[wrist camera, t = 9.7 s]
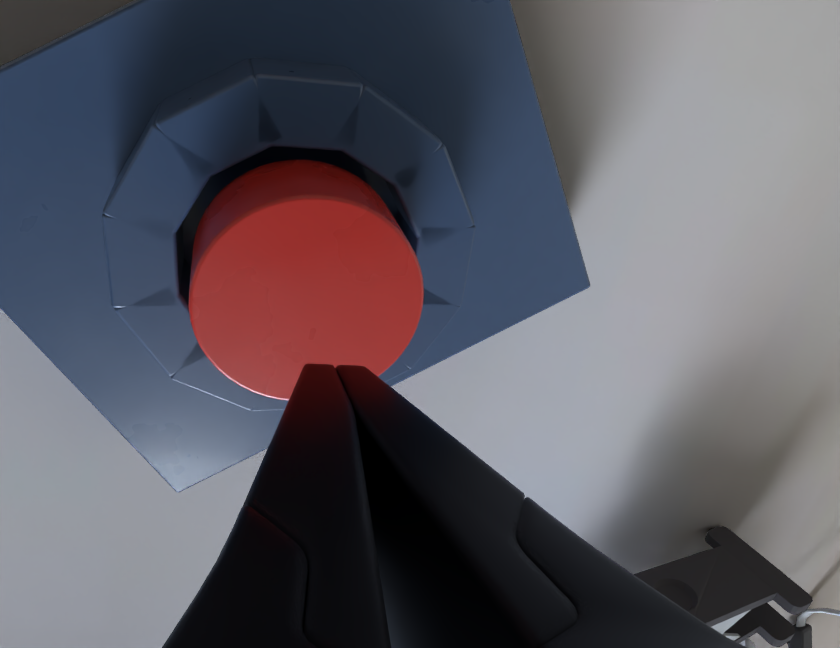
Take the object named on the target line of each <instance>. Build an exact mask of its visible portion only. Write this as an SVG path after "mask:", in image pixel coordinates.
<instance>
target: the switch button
mask: <svg viewBox="0 0 840 648" xmlns="http://www.w3.org/2000/svg"><path fill="white" fill-rule="evenodd" d="M423 299H424V284H423V276H422V271H421V267H420V264H419V261H418V259H417V256H416V254H415V252H414V250H413V248H412V246H411V244H410V243H409V241H408V239H407V238H406V236H405V235H404V233H403V231H402V230H401V228H400V226H399V225H398V223H397V222H396V220H395V218H394V217H393V215H392V214H391V212H390V210H389V209H388V207H387V205H386V204H385V203H384V201H383V200H382V199H381V197H380V196H379V195H378V193H377V192H376V191H375V190H374V189H373V188H372V187H371V186H370V185H368V184H367V183H366V182H364V181H363V180H362V179H360V178H359V177H358V176H356V175H354V174H352V173H351V172H349V171H347V170H345V169H342V168H340V167H337V166H335V165H332V164H328V163H324V162H320V161H313V160H284V161H277V162H273V163H269V164H265V165H262V166H259V167H257V168H254V169H252V170H250V171H247V172H246V173H244V174H242V175H241V176H239V177H237V178H235V179H234V180H233V181H232V182H230V183H229V184H228V185H226V186H225V187H224V188H223V189H222V190H221V191H220V192H219V193H218V194H217V195H216V196H215V197H214V199H213V200H212V201H211V203H210V204H209V206H208V207H207V208H206V210H205V212H204V214H203V216H202V218H201V220H200V222H199V225H198V228H197V231H196V234H195V239H194V245H193V254H192V264H191V275H190V286H189V305H188V307H189V315H190V322H191V325H192V329H193V332H194V335H195V337H196V339H197V341H198V343H199V346H200V347H201V349H202V350H203V352H204V353H205V355H206V357H207V358H208V359H209V360H210V361H211V363H212V364H213V365H214V366H215V367H216V368H217V369H218V370H219V371H220V372H221V373H223V374H224V375H225V376H226V377H227V378H229V379H230V380H232V381H233V382H235V383H236V384H238V385H239V386H241V387H243V388H245V389H247V390H249V391H251V392H254V393H257V394H260V395H263V396H266V397H270V398H274V399H279V400H288V401H289V399H290V396H291V394H292V392H293V389H294V387H295V385H296V383H297V380H298V378H299V376H300V373H301V371H302V369H303V367H304V365H305V364H309V363H311V364H331V365H333V366H334V367H335V368H336V366H338V365H359V366H365V367H366V368H368V369H369V370H370V371H371V372H373V373H374V374H375V375H376V376H379V375H381V374H382V373H383V372H384V371H386V370H387V369H388V368H389V367H390V366H391V365H392V364H393V363H394V362H395V361H396V360H397V359H398V358H399V356H400V355H401V354H402V353H403V351H404V350H405V349H406V347H407V346H408V344H409V343H410V341H411V339H412V337H413V335H414V333H415V331H416V328H417V326H418V323H419V320H420V317H421V312H422V308H423Z"/></svg>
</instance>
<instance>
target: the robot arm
mask: <svg viewBox="0 0 840 648" xmlns="http://www.w3.org/2000/svg"><path fill="white" fill-rule="evenodd" d="M524 497H525V495H524V493H523V492H521V491H520V490H519V489H518V488H516V487H515V486H514V485H513V484H511V483H510V482H509V481H508V480H506V479H505V478H504V477H503V476H501V475H500V474H499V473H498V472H496V471H495V470H494V469H493V468H491V467H490V466H489V465H488V464H486V463H485V462H484V461H483V460H481V459H480V458H479V457H478V456H476V455H475V454H474V453H473V452H471V451H470V450H469V449H468V448H466V447H465V446H464V445H463V444H461V443H460V442H459V441H458V440H456V439H455V438H454V437H453V436H451V435H450V434H449V433H448V432H446V431H445V430H444V429H443V428H441V427H440V426H439V425H438V424H436V423H435V422H434V421H433V420H431V419H430V418H429V417H428V416H426V415H425V414H424V413H423V412H421V411H420V410H419V409H418V408H416V407H415V406H414V405H413V404H411V403H410V402H409V401H408V400H406V399H405V398H404V397H403V396H401V395H400V394H399V393H398V392H396V391H395V390H394V389H393V388H391V387H390V386H389V385H388V384H386V383H385V382H384V381H383V380H381V379H380V378H379V377H378V376H376V375H375V374H374V373H373V372H371V371H370V370H369V369H368V368H366V367H365V366H359V365H338V366H336V368H335V367H334V366H333V365H331V364H311V363H309V364H305V365H304V367H303V369H302V371H301V373H300V376H299V378H298V380H297V383H296V385H295V387H294V389H293V392H292V394H291V396H290V399H289V401H288V403H287V406H286V408H285V410H284V412H283V415H282V417H281V419H280V422H279V424H278V426H277V429H276V431H275V433H274V436H273V438H272V440H271V442H270V445H269V447H268V449H267V452H266V454H265V456H264V459H263V461H262V463H261V466H260V468H259V470H258V472H257V475H256V477H255V479H254V482H253V484H252V486H251V489H250V491H249V493H248V495H247V498H246V500H245V502H244V505H243V507H242V508H241V511H240V513H239V515H238V517H237V520H236V522H235V524H234V527H233V529H232V531H231V533H230V535H229V537H228V539H227V541H226V543H225V545H224V547H223V549H222V551H221V553H220V555H219V557H218V559H217V561H216V563H215V565H214V566H213V568H212V570H211V571H210V573H209V575H208V576H207V578H206V580H205V581H204V583H203V585H202V586H201V588H200V590H199V591H198V593H197V595H196V596H195V598H194V600H193V601H192V603H191V604H190V606H189V607H188V609H187V610H186V612H185V613H184V615H183V616H182V618H181V619H180V621H179V623H178V624H177V626H176V627H175V629H174V630H173V632H172V633H171V635H170V636H169V638H168V639H167V641H166V642H165V644H164V645H163V647H162V648H747V647H745V646H743V645H741V644H739V643H737V642H735V641H733V640H731V639H729V638H727V637H726V636H724V635H723V634H721V633H719V632H718V631H716V630H715V629H713V628H711V627H710V626H708V625H707V624H706V623H704V622H703V621H701V620H700V619H698V618H697V617H695V616H694V615H692V614H691V613H689V612H688V611H686V610H685V609H683V608H682V607H680V606H679V605H678V604H676V603H675V602H673V601H672V600H670V599H669V598H667V597H666V596H664V595H663V594H661V593H660V592H658V591H657V590H655V589H654V588H653V587H651V586H650V585H648V584H647V583H645V582H644V581H642V580H641V579H639V578H638V577H636V576H635V575H633V574H632V573H630V572H629V571H627V570H626V569H625V568H623V567H622V566H620V565H619V564H617V563H616V562H614V561H613V560H612V559H610V558H609V557H607V556H606V555H604V554H603V553H602V552H600V551H599V550H597V549H596V548H594V547H593V546H592V545H590V544H589V543H587V542H586V541H585V540H583V539H582V538H580V537H579V536H578V535H577V534H575V533H574V532H573V531H571V530H570V529H569V528H567V527H566V526H565V525H563V524H562V523H561V522H560V521H558V520H557V519H556V518H554V517H553V516H552V515H550V514H549V513H548V512H547V511H545V510H544V509H543V508H542V507H540V506H539V505H538V504H537V503H535V502H534V501H533V500H532V499H530V498H529V497H526V498H525V499H524Z"/></svg>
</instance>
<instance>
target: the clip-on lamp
mask: <svg viewBox="0 0 840 648" xmlns="http://www.w3.org/2000/svg"><path fill="white" fill-rule="evenodd" d="M705 541H706V542H707V543H708V544H709V545H710V546H711V547H712V549H709V550H706V551H703V552H700V553H697V554H694V555H691V556H688V557H685V558H682V559H679V560H676V561H673V562H670V563H667V564H664V565H661V566H658V567H655V568H652V569H649V570H646V571H643V572H640V573H637V574H634V575H635V576H636V577H638V578H639V579H641V580H642V581H644V582H645V583H647V584H648V585H650V586H651V587H653V588H654V589H655V590H657V591H658V592H660V593H661V594H663V595H664V596H666V597H667V598H669V599H670V600H672V601H673V602H675V603H676V604H678V605H679V606H680V607H682V608H683V609H685V610H686V611H688V612H689V613H691V614H692V615H694V616H695V617H697V618H698V619H700V620H701V621H703V622H704V623H706V624H707V625H708V626H710V627H711V628H713V629H715V630H716V631H718V632H719V633H721V634H723V635H724V636H726V637H727V638H729V639H731V640H733V641H735V642H737V643H740V644H741V645H743V646H745V647H747V648H755V644H754V643H753V642H752V641H751V640H750V639H749V637H750V636H752V635H753V634H755V633H758V634H759V635H761V636H762V637H763V638H764V639H765V640H766V641H767V642H768V643H770V644H771V645H772V646H776V647H780V646H782V645H784V644H785V643H787V644H788V647H789V648H812V628H811V625H809V624H806V618H807V617H809V616H810V615H811V614H812V613H828V614H833V615H837V616H840V611H839V610H834V609H829V608H816V609H808V607H809V606H810V604H811V602H812V601H813V600H812V597H811V596H810V595H809V594H808V593H807V592H806V591H804V590H803V589H802V588H801V587H799V586H798V585H797V584H796V583H795V582H793V581H792V580H791V579H790V578H788V577H787V576H786V575H785V574H784V573H782V572H781V571H780V570H779V569H777V568H776V567H775V566H774V565H772V564H771V563H770V562H769V561H768V560H766V559H765V558H764V557H763V556H761V555H760V554H759V553H758V552H757V551H755V550H754V549H753V548H752V547H750V546H749V545H748V544H747V543H746V542H744V541H743V540H742V539H741V538H739V537H738V536H737V535H736V534H734V533H733V532H732V531H731V530H729V529H728V528H726V527H723V526H719V527H716V528H713V529H711V530H709V531H708V533H707V535H706V537H705ZM772 600H774V601H775V602H776V603H777V604H779V605H780V606H781V607H782V608H783V609H784V610H786V611H787V612H789V613H791V614H794V615H797V614H800V613H801V612H802V613H801V614H800V615H799V616H798V617H797V623H796V624H795V625H792V624H791V623H789V622H788V621H787V620H786V619H785V618H784V617H783V616H781V615H780V614H779V613H778V612H777V611H776V610H775V609H773V608H772V607H771V606H770V605H769V604H768V603H767V602H769V601H772Z"/></svg>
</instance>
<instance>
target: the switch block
mask: <svg viewBox="0 0 840 648" xmlns="http://www.w3.org/2000/svg"><path fill="white" fill-rule="evenodd" d="M284 160H313V161H320V162H324V163H328V164H332V165H335V166H337V167H340V168H342V169H345V170H347V171H349V172H351V173H352V174H354V175H356V176H358V177H359V178H360V179H362V180H363V181H364V182H366V183H367V184H368V185H370V186H371V187H372V188H373V189H374V190H375V191H376V192H377V193H378V195H379V196H380V197H381V199H382V200H383V201H384V203H385V204H386V205H387V207H388V209H389V210H390V212H391V214H392V215H393V217H394V218H395V220H396V222H397V223H398V225H399V226H400V228H401V230H402V231H403V233H404V235H405V236H406V238H407V239H408V241H409V243H410V244H411V246H412V248H413V250H414V252H415V254H416V256H417V259H418V261H419V264H420V267H421V271H422V276H423V284H424V299H423V308H422V312H421V317H420V320H419V323H418V326H417V328H416V331H415V333H414V335H413V337H412V339H411V341H410V343H409V344H408V346H407V347H406V349H405V350H404V351H403V353H402V354H401V355H400V356H399V358H398V359H397V360H396V361H395V362H394V363H393V364H392V365H391V366H390V367H389V368H388V369H387V370H386V371H384V372H383V373H382V374H381V375H379V376H378V377H379V378H380V379H381V380H383V381H384V382H385V383H386V384H388V385H389V386H390V387H391V386H393V385H395V384H397V383H399V382H401V381H403V380H405V379H407V378H409V377H411V376H413V375H415V374H417V373H419V372H421V371H423V370H425V369H427V368H429V367H431V366H433V365H435V364H437V363H439V362H441V361H443V360H445V359H447V358H449V357H451V356H453V355H455V354H457V353H459V352H461V351H463V350H465V349H467V348H469V347H471V346H473V345H475V344H477V343H479V342H481V341H483V340H485V339H487V338H489V337H491V336H493V335H495V334H497V333H499V332H501V331H503V330H505V329H507V328H509V327H511V326H513V325H515V324H517V323H519V322H521V321H523V320H525V319H527V318H529V317H531V316H533V315H535V314H537V313H539V312H541V311H543V310H545V309H547V308H549V307H551V306H553V305H555V304H557V303H559V302H561V301H563V300H565V299H567V298H569V297H571V296H573V295H575V294H577V293H579V292H581V291H583V290H585V289H587V288H589V287H590V282H589V278H588V275H587V271H586V268H585V264H584V261H583V257H582V254H581V250H580V247H579V243H578V239H577V236H576V232H575V229H574V225H573V222H572V218H571V215H570V211H569V208H568V204H567V201H566V197H565V194H564V190H563V187H562V183H561V179H560V176H559V172H558V169H557V165H556V162H555V158H554V155H553V151H552V148H551V144H550V141H549V137H548V134H547V130H546V126H545V123H544V119H543V116H542V112H541V109H540V105H539V102H538V98H537V95H536V91H535V88H534V84H533V81H532V77H531V73H530V70H529V66H528V63H527V59H526V56H525V52H524V49H523V45H522V42H521V38H520V35H519V31H518V28H517V24H516V20H515V17H514V13H513V10H512V6H511V3H510V0H134V1H132V2H130V3H128V4H126V5H124V6H122V7H120V8H118V9H116V10H114V11H112V12H110V13H108V14H106V15H104V16H102V17H100V18H98V19H96V20H94V21H92V22H89V23H87V24H85V25H83V26H81V27H79V28H77V29H75V30H73V31H71V32H69V33H67V34H65V35H63V36H61V37H59V38H57V39H55V40H53V41H51V42H49V43H47V44H45V45H43V46H41V47H39V48H37V49H35V50H33V51H31V52H29V53H27V54H25V55H22V56H20V57H18V58H16V59H14V60H12V61H10V62H8V63H6V64H4V65H2V66H0V308H1V309H2V310H3V311H4V312H5V313H6V314H7V315H8V316H9V318H10V319H11V320H12V321H13V322H14V323H15V324H16V325H17V326H18V327H19V328H20V329H21V330H22V331H23V332H24V333H25V334H26V335H27V336H28V337H29V338H30V339H31V340H32V342H33V343H34V344H35V345H36V346H37V347H38V348H39V349H40V350H41V351H42V352H43V353H44V354H45V355H46V356H47V357H48V358H49V359H50V360H51V361H52V362H53V363H54V365H55V366H56V367H57V368H58V369H59V370H60V371H61V372H62V373H63V374H64V375H65V376H66V377H67V378H68V379H69V380H70V381H71V382H72V383H73V384H74V385H75V386H76V387H77V389H78V390H79V391H80V392H81V393H82V394H83V395H84V396H85V397H86V398H87V399H88V400H89V401H90V402H91V403H92V404H93V405H94V406H95V407H96V408H97V409H98V410H99V411H100V413H101V414H102V415H103V416H104V417H105V418H106V419H107V420H108V421H109V422H110V423H111V424H112V425H113V426H114V427H115V428H116V429H117V430H118V431H119V432H120V433H121V434H122V435H123V437H124V438H125V439H126V440H127V441H128V442H129V443H130V444H131V445H132V446H133V447H134V448H135V449H136V450H137V451H138V452H139V453H140V454H141V455H142V456H143V457H144V458H145V459H146V461H147V462H148V463H149V464H150V465H151V466H152V467H153V468H154V469H155V470H156V471H157V472H158V473H159V474H160V475H161V476H162V477H163V478H164V479H165V480H166V481H167V482H168V483H169V485H170V486H171V487H172V488H173V489H174V490H175V491H176V492H181V491H183V490H185V489H187V488H189V487H191V486H193V485H195V484H197V483H199V482H201V481H203V480H205V479H207V478H209V477H211V476H213V475H215V474H217V473H219V472H221V471H223V470H225V469H227V468H229V467H231V466H233V465H235V464H237V463H239V462H241V461H243V460H245V459H247V458H249V457H251V456H253V455H255V454H257V453H259V452H261V451H263V450H265V449H267V448H268V447H269V445H270V442H271V440H272V438H273V436H274V433H275V431H276V429H277V426H278V424H279V422H280V419H281V417H282V415H283V412H284V410H285V408H286V406H287V403H288V400H279V399H274V398H270V397H266V396H263V395H260V394H257V393H254V392H251V391H249V390H247V389H245V388H243V387H241V386H239V385H238V384H236V383H235V382H233V381H232V380H230V379H229V378H227V377H226V376H225V375H224V374H223V373H221V372H220V371H219V370H218V369H217V368H216V367H215V366H214V365H213V364H212V363H211V361H210V360H209V359H208V358H207V357H206V355H205V353H204V352H203V350H202V349H201V347H200V346H199V343H198V341H197V339H196V337H195V335H194V332H193V329H192V325H191V322H190V315H189V307H188V305H189V286H190V275H191V264H192V254H193V245H194V239H195V234H196V231H197V228H198V225H199V222H200V220H201V218H202V216H203V214H204V212H205V210H206V208H207V207H208V206H209V204H210V203H211V201H212V200H213V199H214V197H215V196H216V195H217V194H218V193H219V192H220V191H221V190H222V189H223V188H224V187H225V186H226V185H228V184H229V183H230V182H232V181H233V180H234V179H235V178H237V177H239V176H241V175H242V174H244V173H246V172H247V171H250V170H252V169H254V168H257V167H259V166H262V165H265V164H269V163H273V162H277V161H284Z"/></svg>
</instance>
